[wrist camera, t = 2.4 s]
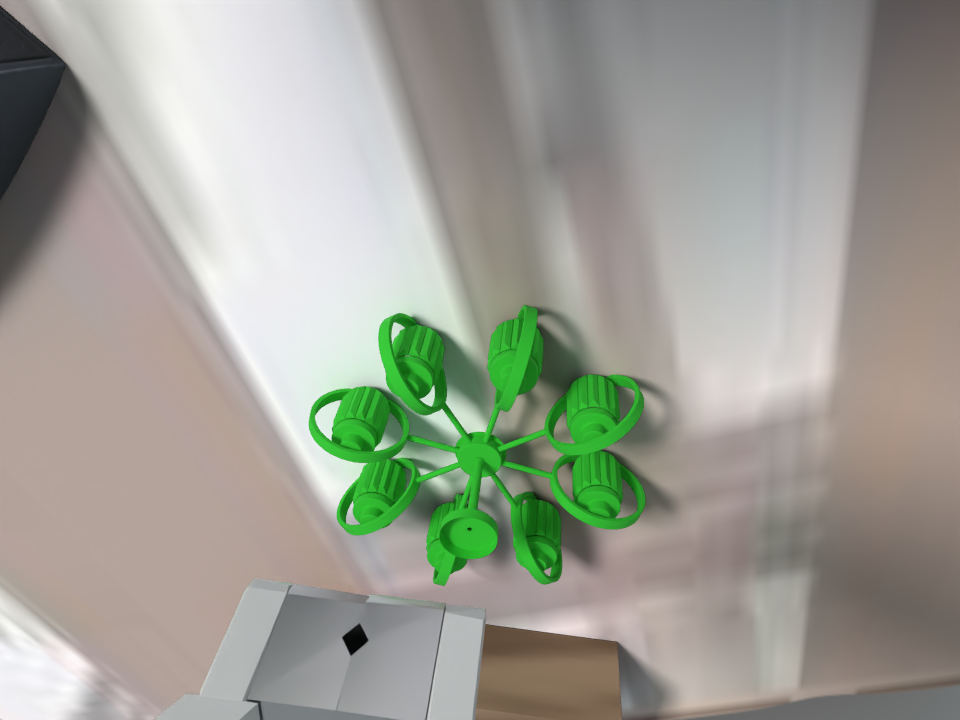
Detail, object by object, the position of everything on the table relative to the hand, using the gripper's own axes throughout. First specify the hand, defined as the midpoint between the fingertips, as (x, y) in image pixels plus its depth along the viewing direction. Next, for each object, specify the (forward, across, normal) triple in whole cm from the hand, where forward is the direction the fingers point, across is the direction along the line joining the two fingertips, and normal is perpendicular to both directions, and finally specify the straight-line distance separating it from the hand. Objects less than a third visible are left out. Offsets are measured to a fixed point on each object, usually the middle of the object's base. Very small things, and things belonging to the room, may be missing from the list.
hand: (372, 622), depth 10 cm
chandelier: (+22, -1, +14) cm, 26 cm away
